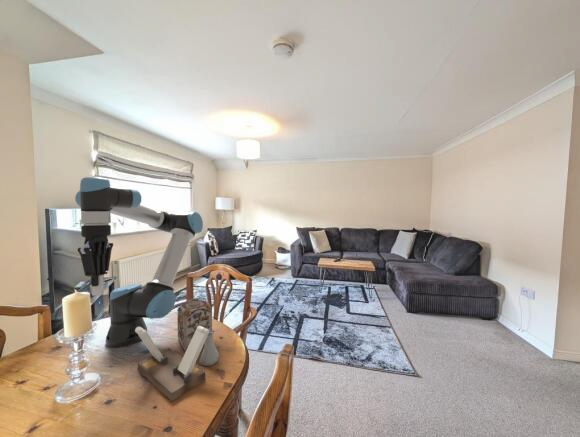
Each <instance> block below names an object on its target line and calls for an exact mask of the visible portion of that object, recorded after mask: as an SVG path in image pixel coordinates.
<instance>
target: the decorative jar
mask: <svg viewBox="0 0 580 437" xmlns="http://www.w3.org/2000/svg"><path fill="white" fill-rule="evenodd" d="M212 311H213V310H212V307H211V305H210V302H208V301H207V300H203V299H200V298H198V297H195V298H190V299H188V301H186V302H184V303H182V304H181V305H180V306H179V307H178V308H177V340H178V341H179V343H180V345H181V347H182V349H183V350H184V351H185V352H186V350H187V348H188V346H189V344H190V342H191V340H192V337H193V335H194V333H195V331H196V329H197V327H198V326H202V327H204V328H206V329H208V330H209V332H213V312H212ZM204 345H205V342H204Z"/></svg>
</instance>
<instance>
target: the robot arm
mask: <svg viewBox="0 0 580 437" xmlns="http://www.w3.org/2000/svg"><path fill="white" fill-rule="evenodd" d="M79 184H80V186H79V191H77V193H76V195H75V197H74V198H75V199H74V200H75V203H76V204H77V205H78V206H79V207H80V216H81V217H80V220H81V222H80V223H81V225H82V226H81V227H80V231H81V233H80V234H81V237H82V238H84V242H83V246H82V247H78V248H77V252H78V254H79V255H80V259H81V263H82V267H83V274H84V276H85V277H87V278H88V277H90V283H91V284H90V286H91V296H92V297H93V296H102V295H104V294H105V284H104V282H105V275H107V274H108V272H109V270H110V263H111V256H112V250H113V247H114V243H113V242H109V239H108V236H111V234H112V227H111V222H112V218H111V216H112V215H114V216H120V217H123V218H124V219H125V218H126V219H129V220H133V221H136V222H138V223H142V224H145V225H148V226H149V227H150V228H153V229H156V230H159V231H163V232H165V233H170V234H171V238H170V240H169V242H168V244H167V246H166V249H165V251H164V253H163V255H162V258H161V260H160V261H159V264H158V266H157V268H156V271H155V273H154V274H153V277H152V279H151V280H150V281H148V282H146V284H145V286H144V288H143V286H142V284H141V283H134V284H128V285H125V286H121V287H118V288H115V289H113V290H112V291H111V292H110V294H109V295H110V296H109V314H110V316H109V317H110V326H109V329H108V331H107V335H106V337H105V346H106V347H108V348H120V347H121V348H122V347H126V346H130V345H133V344H135V343H138V342H139V341H142V340H141V338H140V337H139V335H138V334H137V333H136V332H135V329H136V328H137V327H142V328H143V329H145V330H146V331H147V332H148V327H147V324H146V322H145V320H144V318H145V319H150V320H154V319H162V318H164V317H166V316H168V315H169V314H170V313H171V311H172V310H173V309H174V306H175V304H176V293H175V292H174V291H175V288H174V286H173V284H174V281H175V278H176V276H177V274H178V271H179V269H180V265H181V263H182V261H183V258H184V255H185V253H186V250H187V249H188V248H187V247H188V245H189V243H190V241H192V240H194V238H195V235H197V234H200V233H202V231H203V227H204V222H203V218H202V216H201V214H200V213H199V212H197V211H162V210H159V209H155V210H154V209H151V208H149V207H146V206H144V205H141V203H142V194H141V193H140V191H138V190H137V189H134V188H130V187H121V186H120V187H119V186H112V185H111V182H110V180H109V179H107V178H102V177H93V176H92V177H89V176H88V177H86V176H85V177H82V178H81V179H80V183H79Z"/></svg>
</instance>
